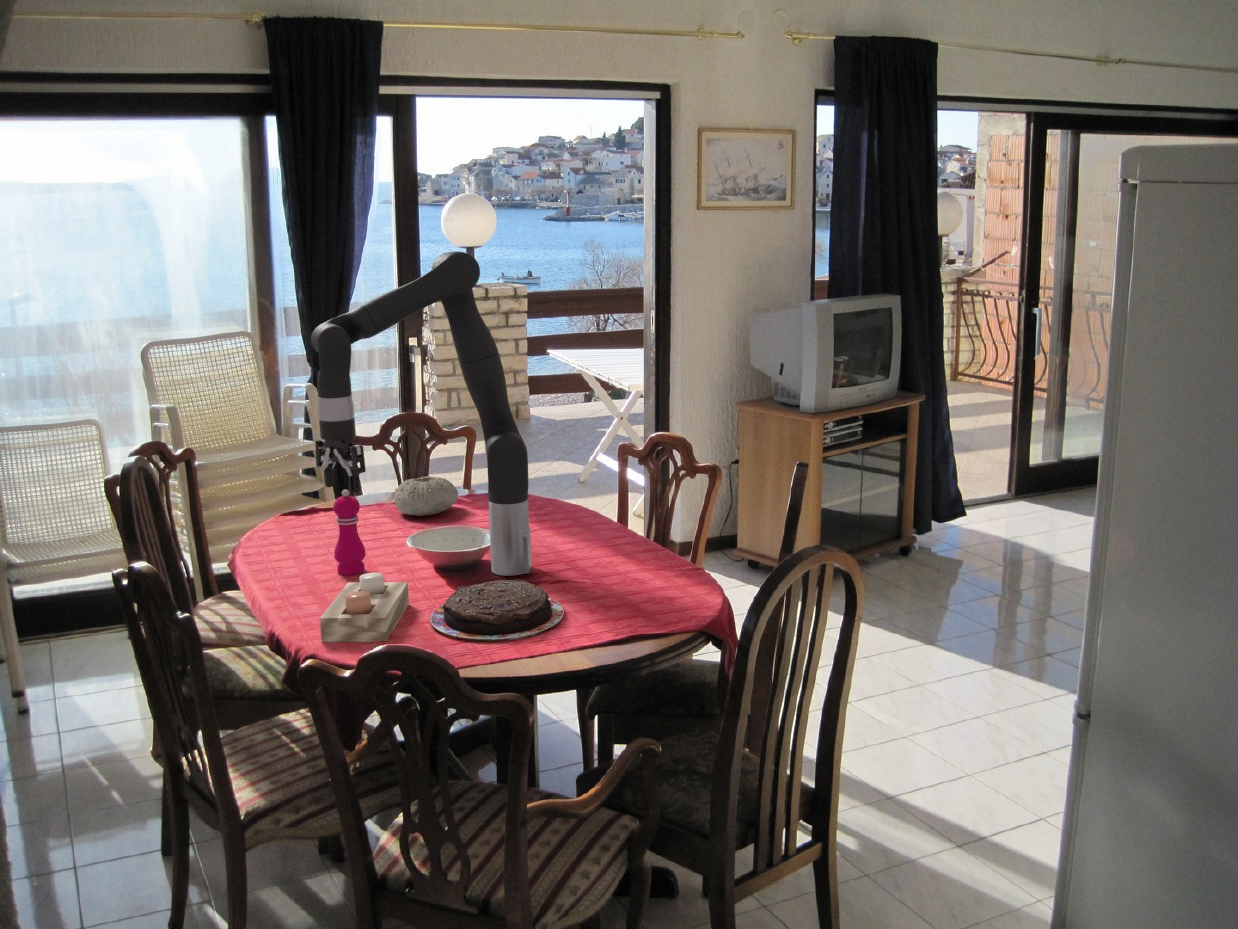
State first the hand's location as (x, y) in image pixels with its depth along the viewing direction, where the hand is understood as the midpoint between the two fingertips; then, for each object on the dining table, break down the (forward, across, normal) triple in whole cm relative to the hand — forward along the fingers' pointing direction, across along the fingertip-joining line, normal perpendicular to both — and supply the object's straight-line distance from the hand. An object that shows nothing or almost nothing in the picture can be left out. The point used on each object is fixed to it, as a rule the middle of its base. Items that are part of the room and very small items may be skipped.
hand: (342, 489), depth 256 cm
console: (+24, -18, +10) cm, 31 cm away
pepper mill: (+24, +12, -10) cm, 29 cm away
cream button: (+19, -14, +5) cm, 25 cm away
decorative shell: (+24, +39, -56) cm, 73 cm away
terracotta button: (+19, -22, +14) cm, 32 cm away
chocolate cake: (+25, -38, -9) cm, 46 cm away
